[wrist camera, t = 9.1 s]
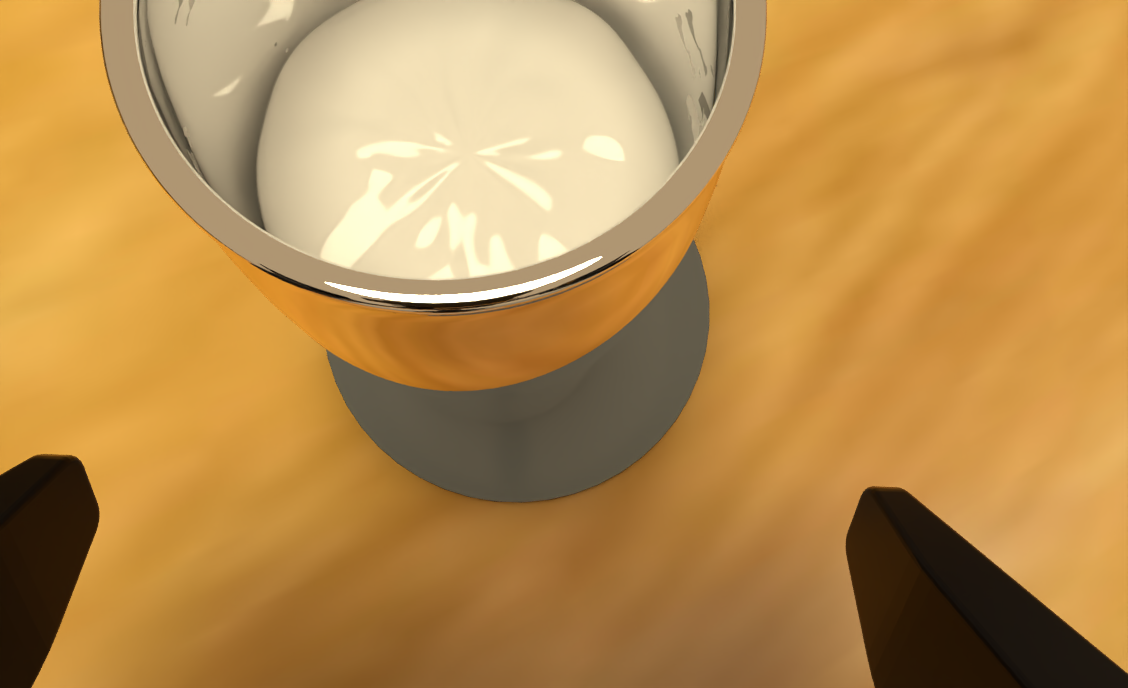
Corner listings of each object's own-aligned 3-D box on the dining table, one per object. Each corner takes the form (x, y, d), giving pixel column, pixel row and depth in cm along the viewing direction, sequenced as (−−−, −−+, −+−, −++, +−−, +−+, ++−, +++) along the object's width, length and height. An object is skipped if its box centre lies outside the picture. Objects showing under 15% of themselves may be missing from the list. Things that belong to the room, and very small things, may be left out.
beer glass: (559, 166, 23) (615, -386, 9) (659, 380, 22) (914, 166, 8) (336, 254, 23) (-22, -189, 8) (429, 481, 22) (215, 460, 7)
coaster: (737, 468, 23) (743, 467, 22) (350, 531, 22) (345, 532, 21) (668, 113, 25) (671, 104, 24) (309, 159, 24) (303, 151, 23)
